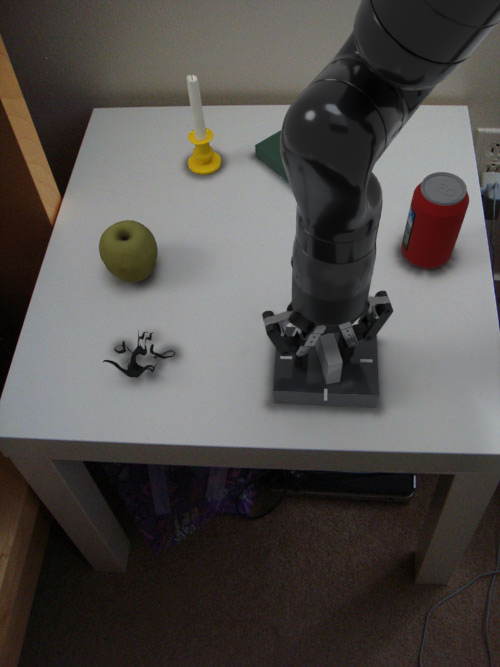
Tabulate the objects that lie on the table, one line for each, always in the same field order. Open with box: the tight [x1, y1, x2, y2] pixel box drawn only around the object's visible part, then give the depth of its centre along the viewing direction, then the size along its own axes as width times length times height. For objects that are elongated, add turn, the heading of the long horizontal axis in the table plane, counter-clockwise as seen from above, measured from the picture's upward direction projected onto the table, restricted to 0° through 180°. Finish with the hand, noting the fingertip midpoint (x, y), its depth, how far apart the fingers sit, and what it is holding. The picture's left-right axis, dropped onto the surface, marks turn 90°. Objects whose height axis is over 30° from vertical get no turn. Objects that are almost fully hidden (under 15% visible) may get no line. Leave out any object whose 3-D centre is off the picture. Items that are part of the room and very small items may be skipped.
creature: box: [102, 329, 176, 379], centre depth 73 cm, size 8×5×8 cm
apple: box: [98, 219, 159, 283], centre depth 80 cm, size 8×8×7 cm
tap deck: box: [272, 326, 380, 409], centre depth 71 cm, size 12×11×3 cm
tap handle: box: [315, 333, 343, 384], centre depth 68 cm, size 6×2×5 cm, turn 11°
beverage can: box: [400, 171, 470, 269], centre depth 77 cm, size 7×7×12 cm
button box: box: [254, 129, 289, 183], centre depth 92 cm, size 12×10×4 cm
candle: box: [186, 73, 222, 176], centre depth 88 cm, size 5×5×16 cm
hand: (322, 359), depth 70 cm, fingers open, 4 cm apart
